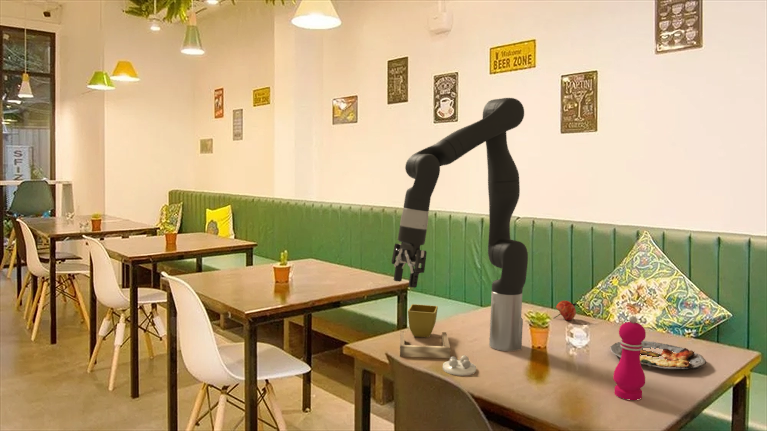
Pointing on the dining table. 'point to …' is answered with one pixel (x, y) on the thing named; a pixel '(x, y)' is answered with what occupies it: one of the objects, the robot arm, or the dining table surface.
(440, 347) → the beech tray
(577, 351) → the dining table surface
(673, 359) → the food plate
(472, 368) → the pebble dish
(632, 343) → the pepper mill
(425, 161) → the robot arm
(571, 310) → the pomegranate
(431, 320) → the flower pot
